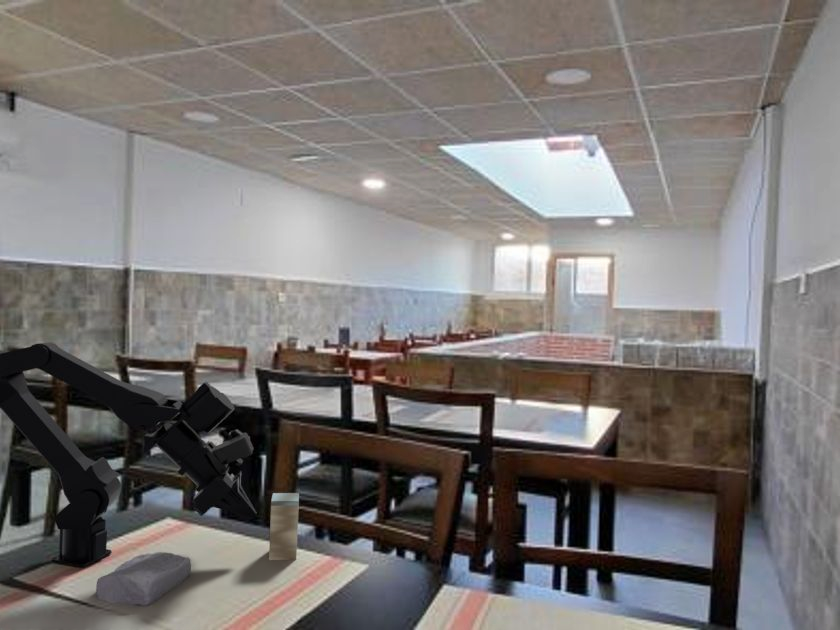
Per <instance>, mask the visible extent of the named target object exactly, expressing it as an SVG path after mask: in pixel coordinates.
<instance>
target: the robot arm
mask: <svg viewBox="0 0 840 630" xmlns="http://www.w3.org/2000/svg"><path fill="white" fill-rule="evenodd" d="M35 369H38V370H41V371H42V372H45V373H46V374H47V375H50V376H52V377H54V378H56V379H58V380H60V381H61V382H63V383H64V384H67V385H69V386H71V387H72V388H74V389H76V390H78V391H81V392H82V393H84V394H85V395H87V396H89V397H92V398H94V399H95V400H97V401H99V402H101V403H102V404H104V405H105V406H107V408H109V410H110V411H111V412H112V413H113V414H114V415H115V416H116V417H117V419H119V420H120V421H122V422H123V423H124V424H126V425H128V426H129V427H130V428H131V429H133V430H135V431H137V432H145V431H149V430H152V429H153V428H155V427H156V426H157V425H159V424H160V423H164V424H162V425H161V426H160V427H159V428H158V429H157V430H156V431H154V433H146V434H145V435H143V437H142V439H143V447H142V448H143V449H142V452H143V454H147V453H149V452H150V451H151V450H152V449H153V448H154V447H157V448H158V449H159V450H160V451H161V452H163V454H164V455H166V456H167V458H169V460H171V462H173V463H174V464H175V466H177V467H178V471H177V473H178V474H179V475H180V476H181V477H182V476H184V474H185V475H186V476H187V477H188V478H189V480H191V481H192V482H193V483H194V484H195V485H196V488H195V491H196V492H197V493H196V494H195V496H194V498H193V500H192V509H193V510H194V511H195V512H196V513H197V514H198V515H199V516H201V517H202V516H204V515H205V514H206V513H207V512H208V511H209V510H211V509H212V508H216V509H219V510H224V511H227V512H229V513H233V514H235V515H239V516H242V517H244V518H248V519H252V520H253V518H255V517H256V516H257V511H256V509H255V508H254V506H253V504H252V502H251V500H250V498H249V497H248V496H247V494H246V492H245V490H244V488H243V486H242V470H239V471H238V472H237V473H236V474H233V473H232V472H233V471H234V470H235V469H236V468H237V467H241V466H242V464H243V462H244V460H243V459H245V458H248V457H250V456H251V455H252V454H253V453H254V452H253V451H254V450H255V449H254V446H253V443H252V441H251V437H250V436H249V435H248V433H247V432H242V431H241V430H239V429H237V428H236V429H234V430H231V431H230V432H229V433H228V434H227V440H224V441H223V442H222V443H220V444H218V445H216V444H215V443H213V441H209V440H208V441H207V442H206V441H205V440H204V439H203V438H202V437H201V436H200V435H199V434H200V433H203V432H205V433H208V434H209V433H211V432H212V431H213V430H215V428H216V427H218V425H219V424H221V423H222V422H223V421H224V420H225V419H226V418H227V417H228V416H229V415H230V414H232V412H233V411H235V406H234V403H233V402H232V401H231V400H230V399H229V398H228V396H227V395H226V394H225V393H223V392H221V391H220V390H219V389H217V388H216V387H214V386H212V385H211V384H210V383H209V382H208V381H204V382H203V383H201V385H200V386H198V388H197V389H196V391H195V392H193V394H192V395H191V396H189V397H188V398H187V399H186V400H180V399H179V400H178V399H172V398H171V399H170V398H167V396H165V395H164V394H163V393H161V392H159V391H157V390H153V389H151V388H148V387H144V386H141V385H137V384H132V383H128V382H125V381H122V380H120V379H118V378H116V377H114V376H112V375H110V374H108V373H106V371H105V372H104V370H101V369H100V368H98V367H96V366H94V365H92V364H90V363H88V362H86V361H85V360H82V359H81V358H78V357H77V356H75V355H73V354H71V353H70V352H67V351H66V350H64V349H62V348H60V347H59V346H58V344H56V343H54V342H50V341H49V342H48V341H47V342H46V341H45V342H38V343H34V344H31V345H30V346H27V347H23V348H19V349H15V350H11V351H6V350H2V349H0V410H1V411H3V413H4V414H5V416H7V418H9V420H10V421H11V422H12V423H13V424H14V425H15V427H16V428H17V429H18V430H19V432H21V434H22V435H23V436H24V437H25V438H26V439H27V440H28V442H29V443H30V444H31V445H32V446H33V448H34V449H35V450H36V451H37V452H38V453H39V454H40V455H41V457H42V458H43V459H44V460H45V461H46V463H48V464H49V466H50V467H51V468H52V469H53V471H54V472H55V473H56V474H57V476H58V477H59V481H60V484H61V487H62V492H63V494H64V496H65V498H66V499H67V501H68V504H67V505H66V506H65V507H64V508H63V509H61V510H60V511H59V512H58V513H56V515H55V516H54V517H53V518H54V519H53V520H54V522H55V525H56V528H57V529H58V530H59V543H58V544H59V546H58V547H59V548H58V555H55V556H53V557H51V559H50V561H51V563H58V564H62V565H67V566H74V567H77V568H78V567H80V568H84V567H87V566H89V565H91V564H93V563H95V562H97V561H99V560H101V559H103V558H106V556H109V555H111V554H112V550H111V549H108V548H107V546H108V545H107V544H108V543H107V541H108V540H107V539H108V531H107V529H106V522H107V519H103V515H104V514H105V513H106V512H107V511H108V510H109V508H110V507H111V506H112V504H114V502H116V501H117V500H118V498H119V496H120V494H121V492H122V491H121V490H122V484H121V481H120V479H119V478H118V477H119V476H120V473H119V472H118V471H116V470H114V469H113V468H112V467H111V465H110V464H109V462H108V460H107V458H105V457H103V456H102V457H100V458H98V459H97V460H96V461H95V460H94V459H91V458H89V457H87V456H86V455H85V454H84V453H83V452H82V451H81V450H80V449H79V447H78V446H77V445H76V444H75V443H74V442H73V440H72V439H71V438H70V437H69V436H68V434H67V433H66V432H65V431H64V430H63V429H62V428H61V426H60V425H59V424H58V423H57V422H56V421H55V419H54V418H53V417H52V416H51V415H50V414H49V412H48V411H47V410H46V409H45V408H44V406H42V404H41V403H40V402H39V401H38V400H37V398H35V396H34V395H33V393H32V392H31V391H30V390H29V386H28V384H27V380H26V377H25V373H24V372H27V371H28V372H29V371H30V370H31V371H32V370H35ZM179 414H181V415H182V416H181V417H180V418H179V419H178V420H177V421H176V422H174V423H173V424H171V423H169V422H170V421H172V419H174V418H176V417H177V416H178V415H179ZM168 421H169V422H168ZM197 433H199V434H197ZM242 458H243V459H242Z"/></svg>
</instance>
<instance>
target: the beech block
mask: <svg viewBox="0 0 840 630" xmlns="http://www.w3.org/2000/svg"><path fill="white" fill-rule="evenodd" d="M299 504H300V493H299V492H276V493H275V492H273V493H272V496H271V503H270V521H269V522H270V526H269V527H270V528H269V551H268V552H269V553H268V561H290V560H297V551H298V530H299V529H298V528H299V526H298V525H299V506H300V505H299Z"/></svg>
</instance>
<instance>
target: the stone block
mask: <svg viewBox="0 0 840 630" xmlns="http://www.w3.org/2000/svg"><path fill="white" fill-rule="evenodd" d="M191 571H192V563H191V558H190V557H188V556H186V557H185V556H182V555H179V554H174V553H172V552H165V551H164V552H163V551H157V552H153V553H146V554H139V555H136V556H134V557H132V558H131V559H129V560H126V561H125V562H123V563H121V564H119V566H117V567H116V568H115V569H114V571H112V572H109V573H107V574H105V575H103V576H100V577H99V578H97V580H96V586H95V587H96V588H95V590H96V594H97V597H98V600H101V601H103V602H107V603H114V604H128V605H132V606H142V607H147V606H148V607H149V605H151V604H153V603H154V602H156V601H157V600H158V599H160V598H161V597H162V596H164V595H165V594H167V593H168V592H169V591H171V590H172V589H174V588H175V587H176V586H178V585H179V584H181V583H182V582H184V581H185V580H186V579H187V578H188V577H189V576H190V574H191Z"/></svg>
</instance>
